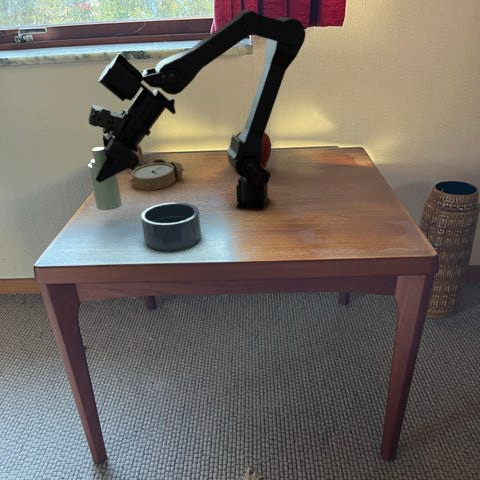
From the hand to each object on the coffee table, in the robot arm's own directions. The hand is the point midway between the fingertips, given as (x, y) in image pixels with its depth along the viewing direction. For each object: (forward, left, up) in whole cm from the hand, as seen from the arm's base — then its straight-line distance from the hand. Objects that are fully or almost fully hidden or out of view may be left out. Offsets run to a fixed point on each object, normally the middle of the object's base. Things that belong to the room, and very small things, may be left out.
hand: (96, 176), depth 109 cm
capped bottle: (-1, -1, -7) cm, 7 cm away
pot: (-18, +3, -11) cm, 21 cm away
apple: (-20, -43, -11) cm, 49 cm away
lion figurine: (+17, -42, -11) cm, 47 cm away
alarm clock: (+2, -30, -11) cm, 32 cm away
